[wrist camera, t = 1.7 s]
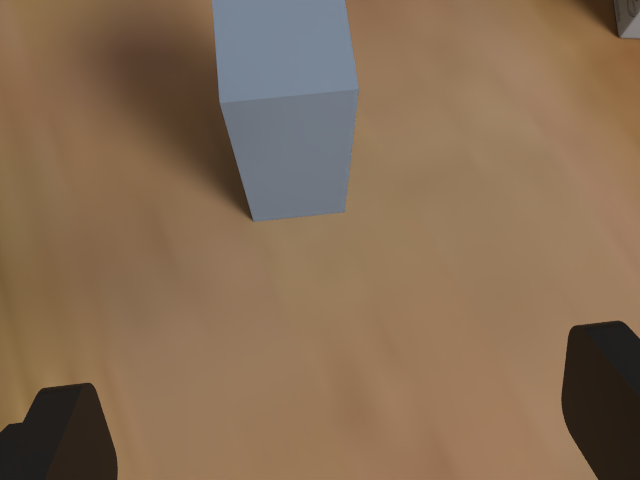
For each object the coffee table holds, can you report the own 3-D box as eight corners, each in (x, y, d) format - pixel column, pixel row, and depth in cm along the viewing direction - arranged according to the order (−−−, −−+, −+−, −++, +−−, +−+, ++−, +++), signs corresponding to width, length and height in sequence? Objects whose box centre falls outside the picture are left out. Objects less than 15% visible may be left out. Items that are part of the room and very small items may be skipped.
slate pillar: (253, 221, 30) (219, 102, 20) (246, 140, 31) (211, -12, 21) (344, 212, 30) (358, 89, 20) (333, 131, 32) (341, -24, 21)
